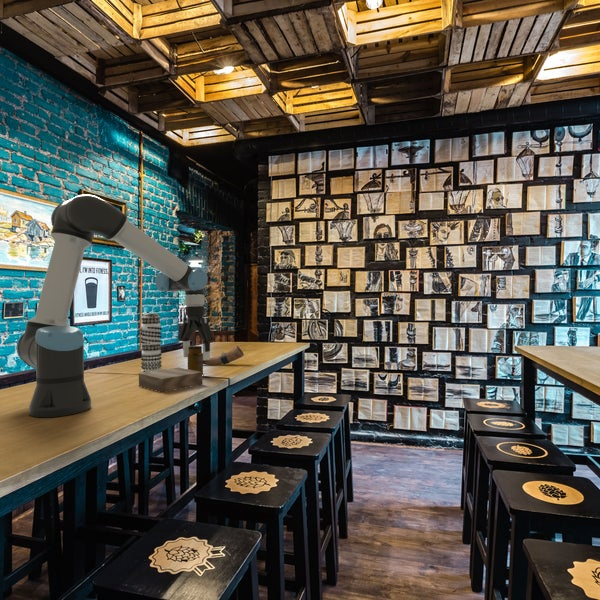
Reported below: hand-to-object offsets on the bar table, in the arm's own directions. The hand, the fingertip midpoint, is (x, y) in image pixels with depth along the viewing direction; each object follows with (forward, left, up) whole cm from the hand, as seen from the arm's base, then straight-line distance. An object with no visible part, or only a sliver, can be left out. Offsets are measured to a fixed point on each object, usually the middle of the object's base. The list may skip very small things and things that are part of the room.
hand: (196, 358), depth 167 cm
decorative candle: (-4, +28, -7) cm, 29 cm away
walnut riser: (-16, -8, -8) cm, 20 cm away
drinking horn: (+21, +18, -7) cm, 28 cm away
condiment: (0, 0, -7) cm, 7 cm away
